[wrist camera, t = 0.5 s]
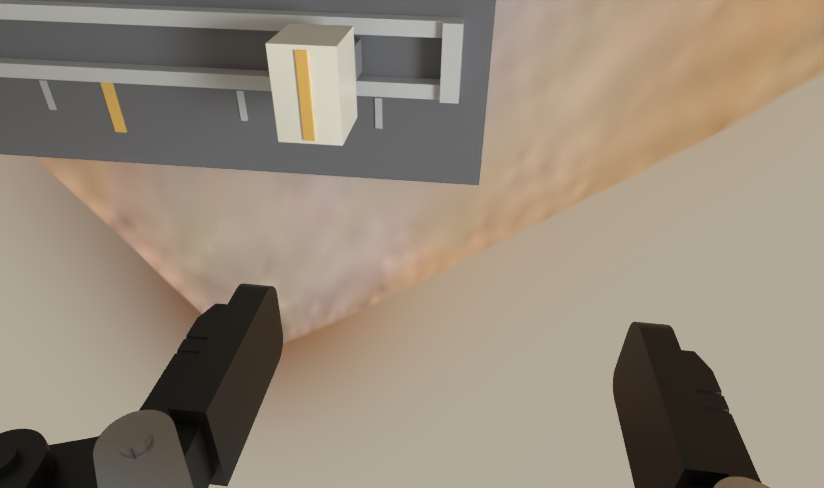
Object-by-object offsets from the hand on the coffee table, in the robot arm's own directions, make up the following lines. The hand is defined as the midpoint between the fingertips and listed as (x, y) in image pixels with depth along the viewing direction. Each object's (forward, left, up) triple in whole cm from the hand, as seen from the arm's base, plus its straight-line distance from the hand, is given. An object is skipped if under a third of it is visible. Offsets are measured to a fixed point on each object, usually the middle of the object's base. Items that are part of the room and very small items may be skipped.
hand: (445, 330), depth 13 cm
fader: (0, -7, -20) cm, 21 cm away
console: (0, -15, -23) cm, 27 cm away
